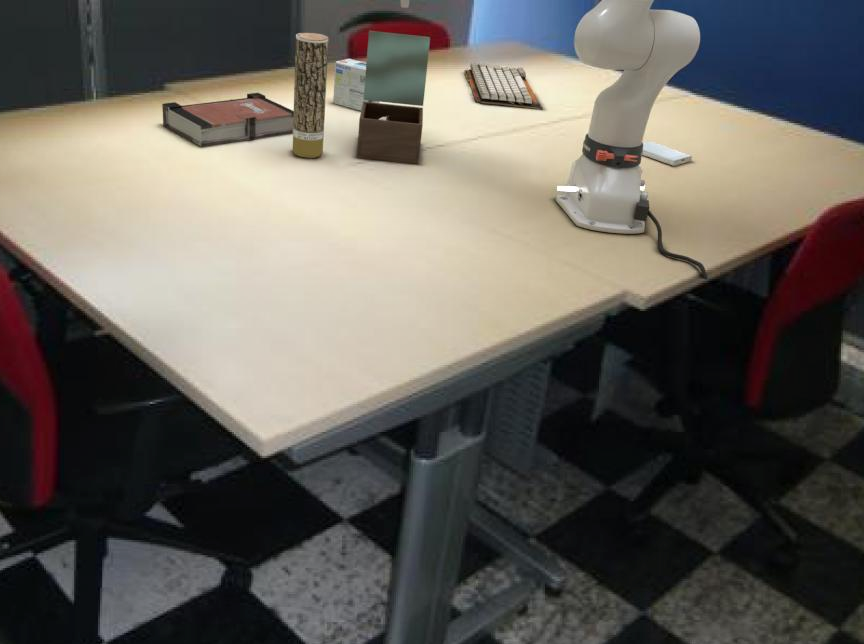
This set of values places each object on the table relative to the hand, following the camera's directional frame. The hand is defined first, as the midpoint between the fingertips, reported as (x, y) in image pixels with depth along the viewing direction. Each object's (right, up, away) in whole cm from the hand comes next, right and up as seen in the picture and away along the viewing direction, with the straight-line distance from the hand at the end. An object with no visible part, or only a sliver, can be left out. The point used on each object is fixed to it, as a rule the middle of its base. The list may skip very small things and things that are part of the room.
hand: (402, 3), depth 200 cm
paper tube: (-21, -33, +2) cm, 39 cm away
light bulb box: (-12, -10, +39) cm, 42 cm away
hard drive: (+65, -27, +26) cm, 75 cm away
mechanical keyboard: (+30, +5, +68) cm, 74 cm away
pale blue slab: (-1, -12, +8) cm, 14 cm away
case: (-3, -30, +9) cm, 32 cm away
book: (-40, -25, +12) cm, 48 cm away
